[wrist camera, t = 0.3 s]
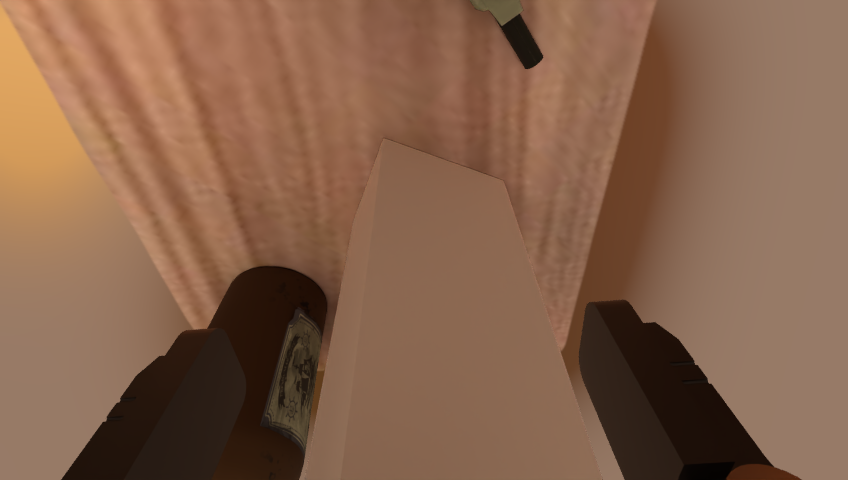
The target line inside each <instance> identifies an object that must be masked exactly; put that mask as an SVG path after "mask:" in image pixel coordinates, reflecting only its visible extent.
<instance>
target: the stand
mask: <svg viewBox="0 0 848 480" xmlns="http://www.w3.org/2000/svg"><path fill="white" fill-rule="evenodd" d="M305 480H603V479H602V476H601V473H600V470H599V467H598V464H597V461H596V458H595V455H594V452H593V449H592V446H591V443H590V440H589V437H588V434H587V431H586V428H585V425H584V422H583V419H582V416H581V413H580V410H579V407H578V404H577V401H576V398H575V395H574V392H573V388H572V386H571V383H570V379H569V376H568V373H567V370H566V367H565V364H564V361H563V358H562V355H561V352H560V349H559V346H558V343H557V340H556V337H555V334H554V331H553V328H552V325H551V322H550V319H549V316H548V313H547V310H546V307H545V304H544V301H543V298H542V295H541V292H540V289H539V286H538V283H537V280H536V277H535V274H534V271H533V268H532V265H531V262H530V259H529V256H528V253H527V250H526V247H525V244H524V241H523V238H522V235H521V232H520V229H519V226H518V223H517V220H516V217H515V214H514V211H513V208H512V204H511V201H510V198H509V195H508V192H507V189H506V186H505V183H504V181H503V180H501V179H498V178H495V177H492V176H489V175H487V174H484V173H481V172H478V171H475V170H472V169H470V168H467V167H464V166H461V165H458V164H456V163H453V162H450V161H447V160H444V159H442V158H439V157H436V156H433V155H430V154H427V153H425V152H422V151H419V150H416V149H413V148H411V147H408V146H405V145H402V144H399V143H397V142H394V141H391V140H388V139H385V138H383V140H382V143H381V146H380V149H379V151H378V154H377V157H376V160H375V162H374V165H373V168H372V171H371V173H370V176H369V179H368V182H367V184H366V187H365V190H364V193H363V195H362V198H361V201H360V204H359V206H358V209H357V212H356V215H355V217H354V220H353V225H352V230H351V236H350V241H349V246H348V252H347V257H346V262H345V268H344V273H343V278H342V284H341V289H340V294H339V300H338V305H337V310H336V316H335V321H334V326H333V332H332V337H331V342H330V348H329V353H328V358H327V363H326V369H325V374H324V380H323V385H322V390H321V395H320V401H319V406H318V411H317V417H316V422H315V427H314V433H313V438H312V443H311V449H310V454H309V459H308V465H307V470H306V476H305Z"/></svg>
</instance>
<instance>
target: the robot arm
mask: <svg viewBox="0 0 848 480" xmlns="http://www.w3.org/2000/svg"><path fill="white" fill-rule="evenodd" d="M579 364H580V371H581V375H582V378H583V381H584V384H585V386H586V389H587V391H588V393H589V395H590V398H591V400H592V403H593V405H594V407H595V410H596V412H597V415H598V417H599V420H600V422H601V424H602V427H603V429H604V431H605V434H606V436H607V439H608V441H609V443H610V446H611V448H612V451H613V453H614V455H615V458H616V460H617V462H618V465H619V467H620V469H621V472H622V474H623V477H624V479H625V480H801V479H800V478H798V477H797V476H794V475H793V474H791V473H789V472H787V471H784V470H781V469H778V468H775V467H774V466H773V465H772V464H771V463H770V462H769V461H768V460H767V458H766V457H765V456H764V454H763V453H762V452H761V450H760V449H759V448H758V446H757V445H756V443H755V442H754V441H753V439H752V438H751V437H750V435H749V434H748V433H747V431H746V430H745V429H744V427H743V426H742V425H741V423H740V422H739V421H738V419H737V418H736V416H735V415H734V414H733V412H732V411H731V410H730V408H729V407H728V406H727V404H726V403H725V402H724V400H723V399H722V397H721V396H720V395H719V393H718V392H717V391H716V389H715V388H714V387H713V385H712V384H709V383H708V380H707V377H706V376H705V374H704V373H703V372H702V371H701V369H700V368H699V366H698V365H695V363H694V360H693V358H692V357H691V356H690V354H689V353H688V351H687V350H686V349H685V347H684V346H683V345H682V343H681V342H680V341H679V339H677V338H676V337H675V336H673V335H672V334H671V333H669V332H668V331H666V330H665V329H664V328H662V327H661V326H660V325H658V324H657V323H655V322H653V323H643V322H642V321H641V319H640V318H639V316H638V315H637V313H636V312H635V310H634V309H633V307H632V306H631V305H630V304H629V302H628V301H626V300H613V301H599V302H589V303H588V304H587V306H586V310H585V315H584V322H583V329H582V336H581V343H580V349H579ZM245 394H246V379H245V375H244V372H243V370H242V367H241V365H240V363H239V361H238V358H237V356H236V354H235V352H234V349H233V347H232V345H231V342H230V340H229V338H228V336H227V334H226V332H225V331H224V330H223V329H221V328H212V329H198V330H186V331H184V332H182V333H181V334H180V335H179V336H178V338H177V339H176V340H175V342H174V343H173V345H172V346H171V348H170V349H169V351H168V352H167V354H166V355H165V356H159V357H158V358H157V359H155V361H153V362H152V363H151V364H150V365H148V366H147V367H146V368H145V369H144V370H142V371H141V372H140V373H139V374H138V375H137V376H136V377H135V378H134V380H133V381H132V382H131V384H130V385H129V387H128V388H127V389H126V391H125V392H124V394H123V395H122V396H121V398H120V399H121V401H120V402H119V403H116V405H115V406H114V407H113V409H112V410H111V412H110V413H109V414H108V416H107V421H106V422H103V423H102V424H101V425H100V427H99V428H98V430H97V431H96V432H95V434H94V435H93V436H92V438H91V439H90V441H89V442H88V443H87V445H86V446H85V448H84V449H83V450H82V452H81V453H80V454H79V456H78V457H77V459H76V460H75V461H74V463H73V464H72V466H71V467H70V468H69V470H68V471H67V472H66V474H65V475H64V477H63V478H62V479H61V480H211V479H212V477H213V474H214V472H215V470H216V467H217V465H218V463H219V460H220V458H221V455H222V453H223V451H224V448H225V446H226V443H227V441H228V439H229V436H230V434H231V431H232V429H233V427H234V424H235V422H236V419H237V417H238V415H239V412H240V410H241V407H242V405H243V402H244V399H245Z"/></svg>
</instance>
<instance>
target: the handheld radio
mask: <svg viewBox="0 0 848 480" xmlns="http://www.w3.org/2000/svg"><path fill="white" fill-rule="evenodd" d="M470 2H471V3H472V4H473V6H474V7H475V9H477V10H480V11H486V10H489V11H490V12H491V13H492V14H493V15H494V17H495V19H496V20H497V22H498V24H499V25H500V27H501V29H502V30H503V32H504V34H505V36H506V37H507V39H508V41H509V42H510V44H511V46H512V47H513V49H514V51H515V52H516V54H517V56H518V57H519V59H520V61H521V62H522V64H523V66H524V67H525V69H530V68H532V67H534V66H536V65H537V64H538V63H539V62H540V61H541V60H542V59H543V55H542V53H541V51H540V49H539V48H538V46H537V44H536V42H535V41H534V39H533V37H532V35H531V33H530V32H529V30H528V28H527V26H526V24H525V23H524V21H523V19H522V17H521V15H520V14H519V13H521V12H522V11H523V8H522V6H521V3H520V0H470Z"/></svg>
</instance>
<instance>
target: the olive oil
mask: <svg viewBox="0 0 848 480" xmlns="http://www.w3.org/2000/svg"><path fill="white" fill-rule="evenodd" d="M326 312H327V302H326V298H325V296H324V294H323V292H322V291H321V289H320V288H319V287H318V286H317V285H316V284H315V283H314V282H313V281H311V280H310V279H308V278H307V277H305V276H303V275H301V274H299V273H297V272H294V271H292V270H288V269H284V268H278V267H261V268H255V269H251V270H248V271H246V272H244V273H242V274H240V275H239V276H238V277H236V278H235V279H234V281H233V282H232V283H231V285H230V287H229V288H228V290H227V292H226V294H225V296H224V298H223V300H222V302H221V304H220V306H219V307H218V309H217V311H216V313H215V315H214V317H213V319H212V321H211V323H210V324H209V326H208V328H207V329H212V328H221V329H223V330H224V331H225V332H226V334H227V336H228V338H229V340H230V342H231V345H232V347H233V349H234V352H235V354H236V356H237V358H238V361H239V363H240V365H241V367H242V370H243V372H244V375H245V379H246V394H245V399H244V402H243V405H242V407H241V410H240V412H239V415H238V417H237V419H236V422H235V424H234V427H233V429H232V431H231V434H230V436H229V439H228V441H227V443H226V446H225V448H224V451H223V453H222V455H221V458H220V460H219V463H218V465H217V467H216V470H215V472H214V474H213V477H212V479H211V480H299V478H300V475H301V472H302V467H303V464H304V458H305V451H306V444H307V436H308V429H309V422H310V415H311V408H312V401H313V394H314V388H315V381H316V374H317V368H318V361H319V355H320V348H321V343H322V336H323V330H324V324H325V318H326Z"/></svg>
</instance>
